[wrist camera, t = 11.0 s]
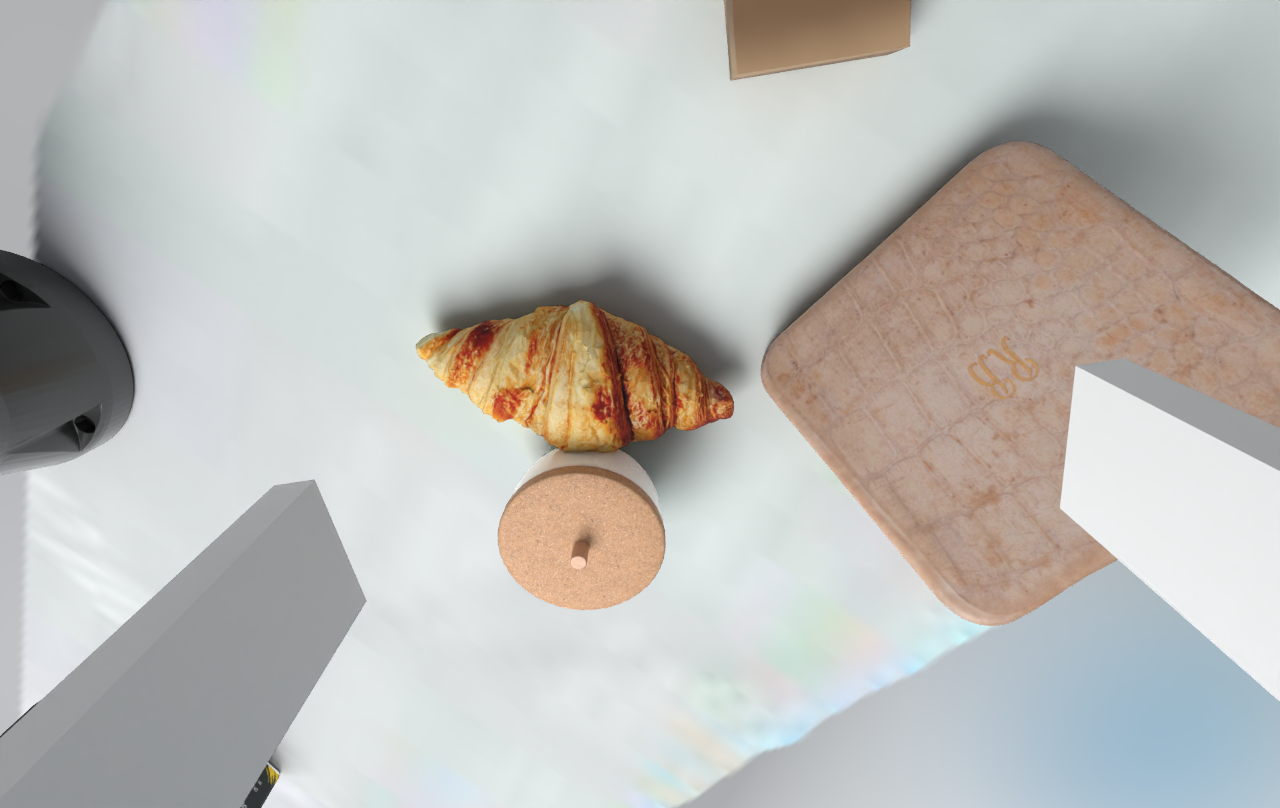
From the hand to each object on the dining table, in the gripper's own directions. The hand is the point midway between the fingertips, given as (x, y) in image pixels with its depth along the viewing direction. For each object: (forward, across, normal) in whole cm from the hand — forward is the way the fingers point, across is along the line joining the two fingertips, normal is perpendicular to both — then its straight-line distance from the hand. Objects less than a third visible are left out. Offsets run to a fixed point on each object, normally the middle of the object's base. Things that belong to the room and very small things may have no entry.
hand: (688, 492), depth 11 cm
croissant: (+31, -6, -7) cm, 33 cm away
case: (+31, +19, -11) cm, 38 cm away
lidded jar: (+31, -8, -17) cm, 36 cm away
